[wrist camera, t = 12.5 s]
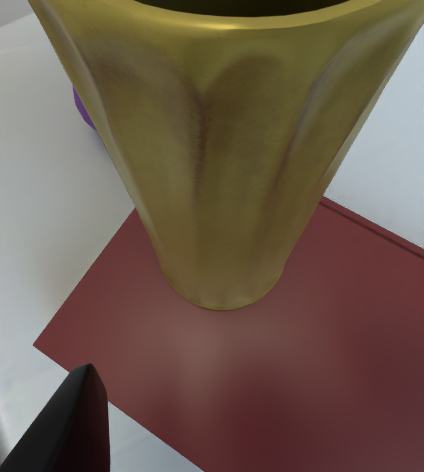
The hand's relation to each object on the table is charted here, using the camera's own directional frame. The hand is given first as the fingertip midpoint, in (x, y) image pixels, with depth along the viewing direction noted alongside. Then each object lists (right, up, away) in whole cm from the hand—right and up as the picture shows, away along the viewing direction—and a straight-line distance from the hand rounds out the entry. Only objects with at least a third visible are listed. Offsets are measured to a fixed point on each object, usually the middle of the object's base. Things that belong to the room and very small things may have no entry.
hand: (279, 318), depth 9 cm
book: (+2, -4, +10) cm, 11 cm away
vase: (-1, +1, +9) cm, 9 cm away
